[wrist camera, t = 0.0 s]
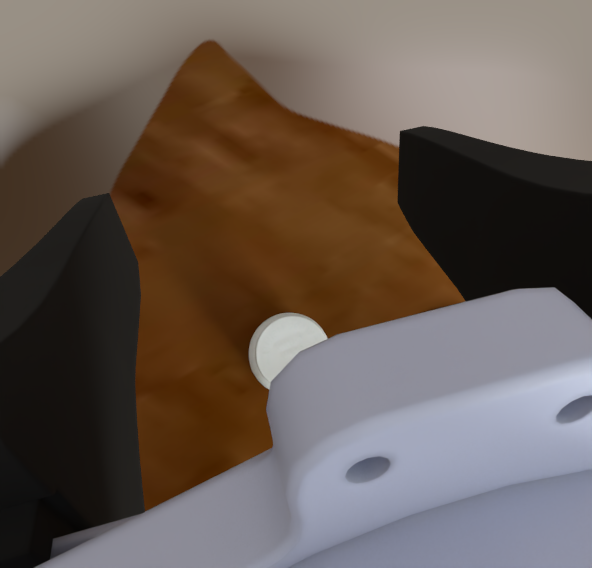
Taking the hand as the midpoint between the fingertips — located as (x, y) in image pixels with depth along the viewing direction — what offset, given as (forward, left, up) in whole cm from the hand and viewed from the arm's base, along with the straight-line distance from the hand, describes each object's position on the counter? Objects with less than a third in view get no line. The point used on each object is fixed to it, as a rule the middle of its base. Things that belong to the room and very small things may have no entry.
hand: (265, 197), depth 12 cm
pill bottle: (-4, -1, -32) cm, 33 cm away
